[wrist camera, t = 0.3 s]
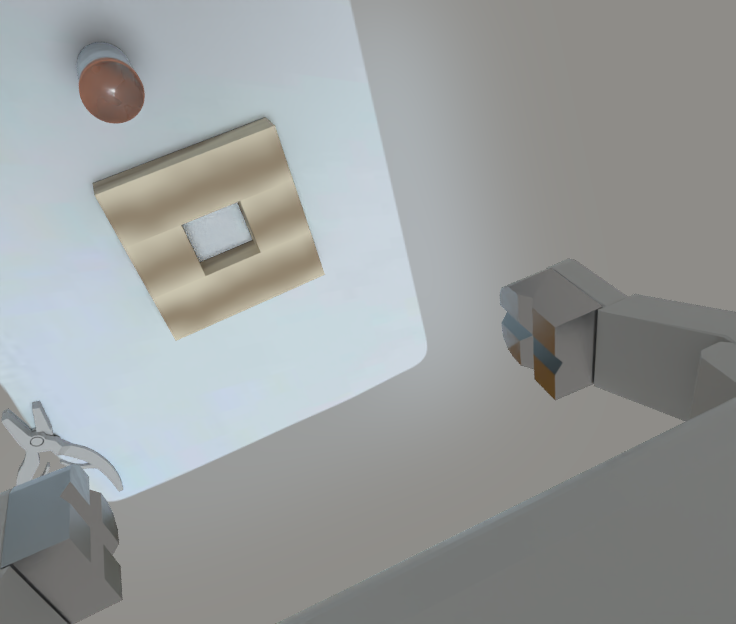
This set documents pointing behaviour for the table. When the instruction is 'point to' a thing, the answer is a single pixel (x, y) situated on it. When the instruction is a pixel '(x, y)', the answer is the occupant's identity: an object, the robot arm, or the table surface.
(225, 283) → the wooden flat square block
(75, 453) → the pliers
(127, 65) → the steel peg
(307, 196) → the table surface
